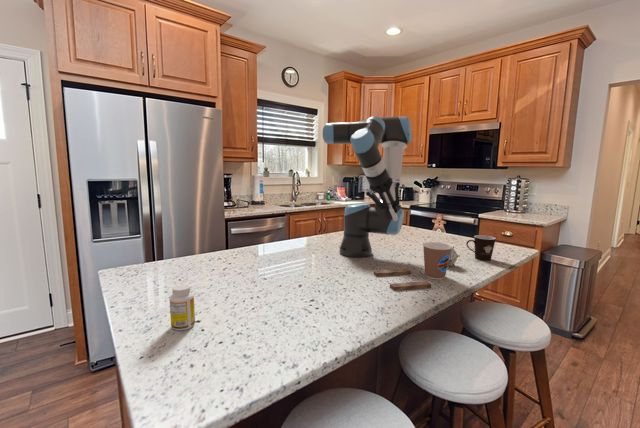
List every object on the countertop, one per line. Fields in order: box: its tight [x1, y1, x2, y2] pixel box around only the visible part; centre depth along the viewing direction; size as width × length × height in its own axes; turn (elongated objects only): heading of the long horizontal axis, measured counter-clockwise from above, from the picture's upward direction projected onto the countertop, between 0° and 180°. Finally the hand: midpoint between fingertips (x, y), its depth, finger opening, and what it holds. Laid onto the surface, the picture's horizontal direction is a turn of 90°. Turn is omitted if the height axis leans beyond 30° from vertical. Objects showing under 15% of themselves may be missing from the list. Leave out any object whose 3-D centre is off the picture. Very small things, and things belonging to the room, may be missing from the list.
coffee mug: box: [465, 234, 497, 262], centre depth 145 cm, size 12×9×10 cm
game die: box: [448, 246, 461, 267], centre depth 134 cm, size 9×8×10 cm
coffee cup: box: [422, 241, 453, 280], centre depth 120 cm, size 10×10×12 cm
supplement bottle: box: [169, 284, 196, 332], centre depth 80 cm, size 6×6×10 cm
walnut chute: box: [372, 268, 432, 291], centre depth 116 cm, size 14×17×1 cm
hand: (395, 218), depth 126 cm, fingers closed
